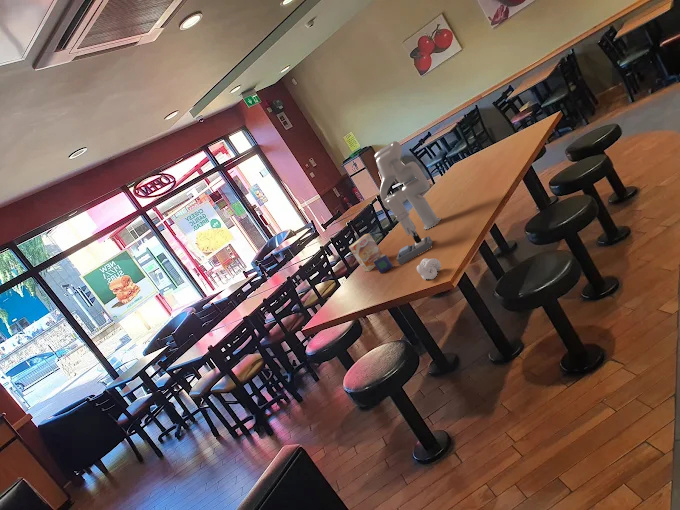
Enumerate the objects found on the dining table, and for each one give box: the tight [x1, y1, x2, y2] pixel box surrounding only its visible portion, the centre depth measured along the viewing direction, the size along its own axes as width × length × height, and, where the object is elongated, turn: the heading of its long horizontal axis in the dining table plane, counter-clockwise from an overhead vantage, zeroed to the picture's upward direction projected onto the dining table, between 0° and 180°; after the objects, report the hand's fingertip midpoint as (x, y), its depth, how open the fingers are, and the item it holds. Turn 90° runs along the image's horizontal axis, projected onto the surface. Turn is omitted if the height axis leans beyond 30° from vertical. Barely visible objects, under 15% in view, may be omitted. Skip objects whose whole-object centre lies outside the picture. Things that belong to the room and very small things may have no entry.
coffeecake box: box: [348, 233, 384, 272], centre depth 330 cm, size 15×7×20 cm, turn 117°
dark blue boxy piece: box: [373, 254, 394, 275], centre depth 305 cm, size 9×3×11 cm, turn 74°
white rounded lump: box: [416, 257, 442, 281], centre depth 250 cm, size 11×12×9 cm
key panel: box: [396, 235, 433, 266], centre depth 300 cm, size 12×21×4 cm, turn 76°
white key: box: [414, 237, 427, 248], centre depth 298 cm, size 6×6×3 cm
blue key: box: [398, 244, 411, 257], centre depth 302 cm, size 6×6×3 cm
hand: (419, 241), depth 298 cm, fingers closed
